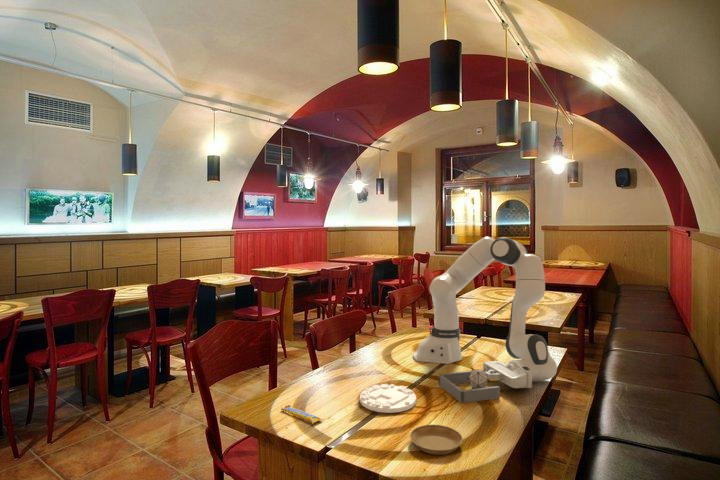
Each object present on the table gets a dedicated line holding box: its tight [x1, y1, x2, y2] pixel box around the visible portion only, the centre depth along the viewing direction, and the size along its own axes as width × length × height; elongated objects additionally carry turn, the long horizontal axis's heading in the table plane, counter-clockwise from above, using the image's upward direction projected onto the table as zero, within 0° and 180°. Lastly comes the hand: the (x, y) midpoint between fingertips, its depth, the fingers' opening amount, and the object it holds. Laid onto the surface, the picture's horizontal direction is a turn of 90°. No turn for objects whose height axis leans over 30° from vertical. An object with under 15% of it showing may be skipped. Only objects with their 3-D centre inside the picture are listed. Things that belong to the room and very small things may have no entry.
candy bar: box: [280, 404, 324, 425], centre depth 143 cm, size 17×4×2 cm, turn 50°
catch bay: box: [438, 370, 500, 404], centre depth 163 cm, size 15×18×4 cm
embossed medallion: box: [359, 383, 417, 414], centre depth 154 cm, size 20×20×3 cm
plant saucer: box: [409, 424, 464, 456], centre depth 124 cm, size 15×15×3 cm
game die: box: [467, 366, 491, 389], centre depth 164 cm, size 9×8×10 cm
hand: (485, 375), depth 165 cm, fingers closed, pressing on game die
